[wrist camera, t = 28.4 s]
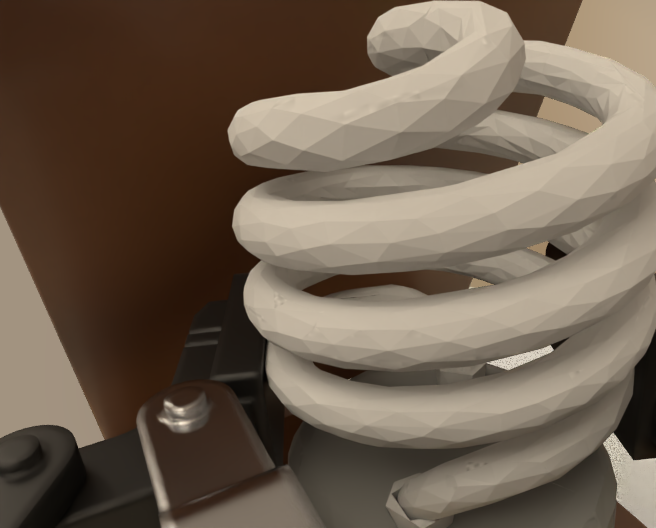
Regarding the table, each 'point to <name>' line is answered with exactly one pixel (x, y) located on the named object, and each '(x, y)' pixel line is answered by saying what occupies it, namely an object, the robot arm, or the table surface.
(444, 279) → the lid
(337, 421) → the light bulb
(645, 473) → the table surface
